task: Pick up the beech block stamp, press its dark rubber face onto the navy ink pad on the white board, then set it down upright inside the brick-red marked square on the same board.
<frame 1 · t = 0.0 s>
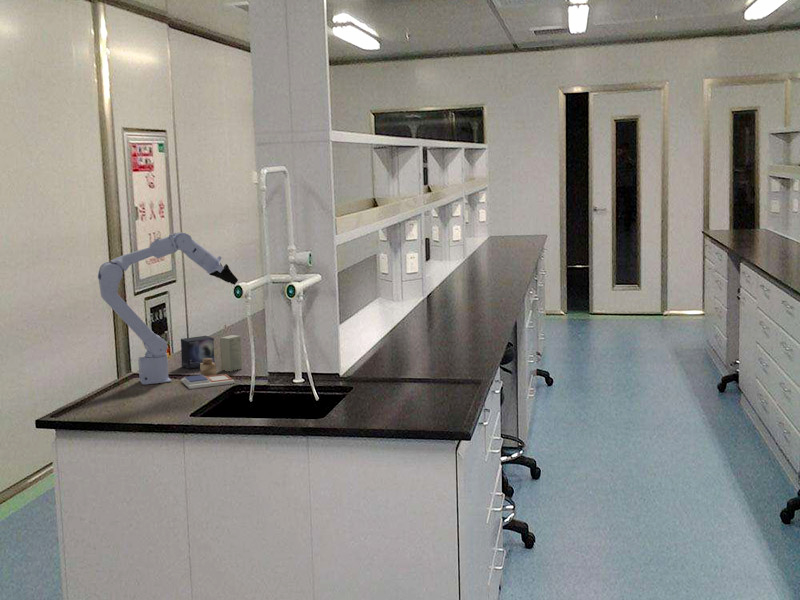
hand: (233, 281, 299), 32 cm above the countertop, tool tilted 50°, fingers open, 7 cm apart
stamp: (208, 376, 297), on the countertop
small box: (198, 366, 315), on the countertop
board: (207, 382, 287), on the countertop
skincare box: (231, 370, 307), on the countertop
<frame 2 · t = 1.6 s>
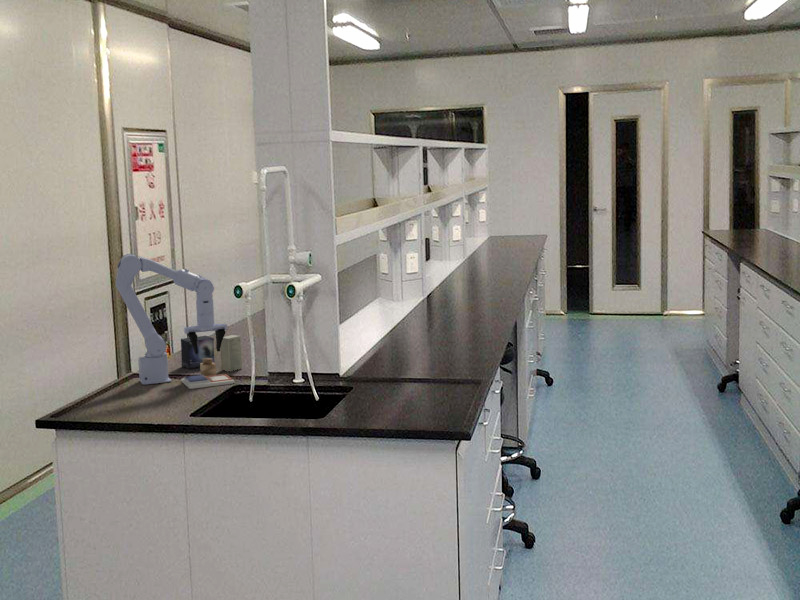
hand: (207, 352, 296), 8 cm above the countertop, tool pointing down, fingers open, 7 cm apart
nothing on the countertop moved.
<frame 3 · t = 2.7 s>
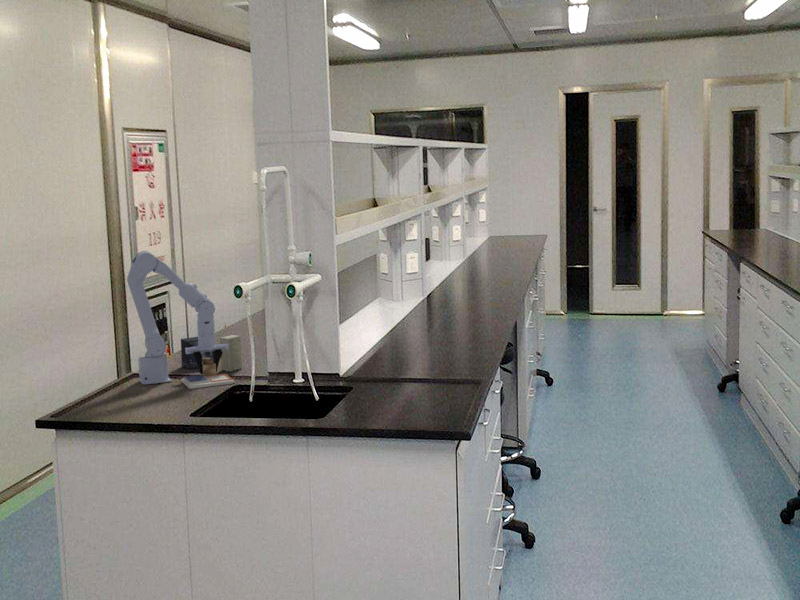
hand: (208, 372, 297), 1 cm above the countertop, tool pointing down, fingers closed on stamp, 4 cm apart
stamp: (208, 376, 297), on the countertop, touching gripper
everything else where it was.
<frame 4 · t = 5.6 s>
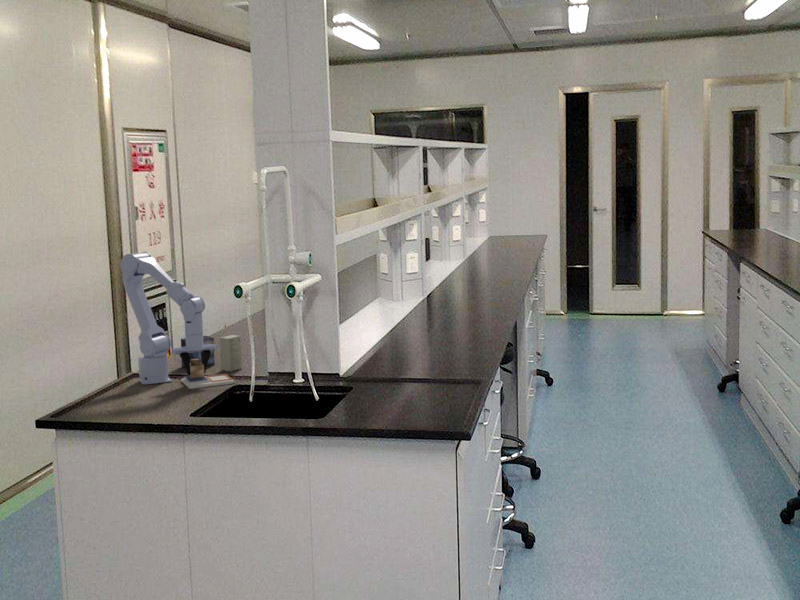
hand: (196, 373, 285), 3 cm above the countertop, tool pointing down, fingers closed on stamp, 4 cm apart
stamp: (196, 377, 286), point 2 cm above the countertop, touching board, gripper
everything else where it was.
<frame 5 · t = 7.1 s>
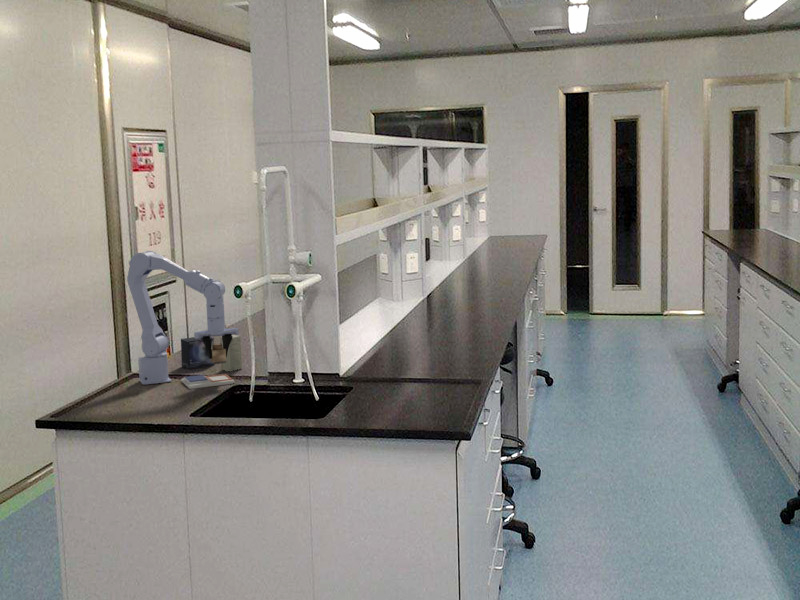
hand: (217, 357, 288), 8 cm above the countertop, tool pointing down, fingers closed on stamp, 4 cm apart
stamp: (218, 362, 288), point 6 cm above the countertop, touching gripper
everything else where it was.
when the fingers open (3 cm above the countertop, at t = 8.3 s): stamp stays where it is, resting on board.
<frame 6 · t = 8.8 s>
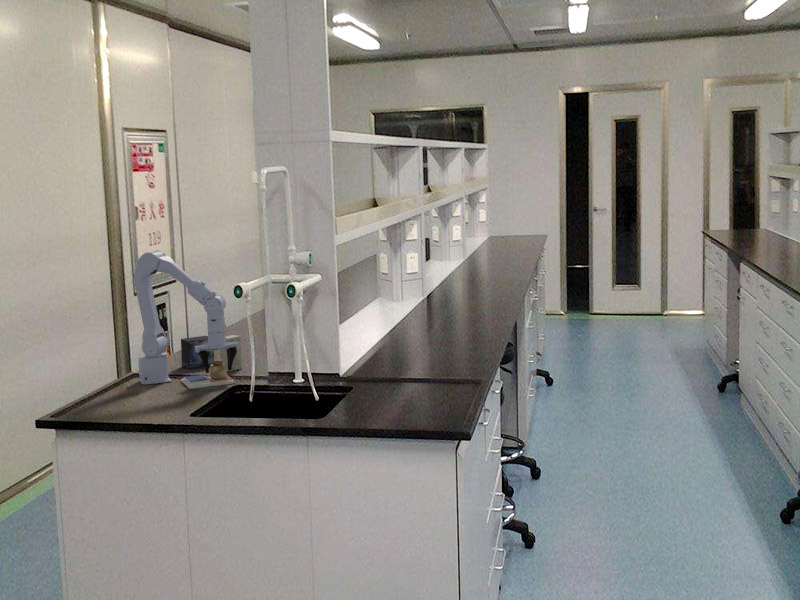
hand: (218, 371, 288), 3 cm above the countertop, tool pointing down, fingers open, 7 cm apart
stamp: (218, 378, 289), point 1 cm above the countertop, touching board
everything else where it was.
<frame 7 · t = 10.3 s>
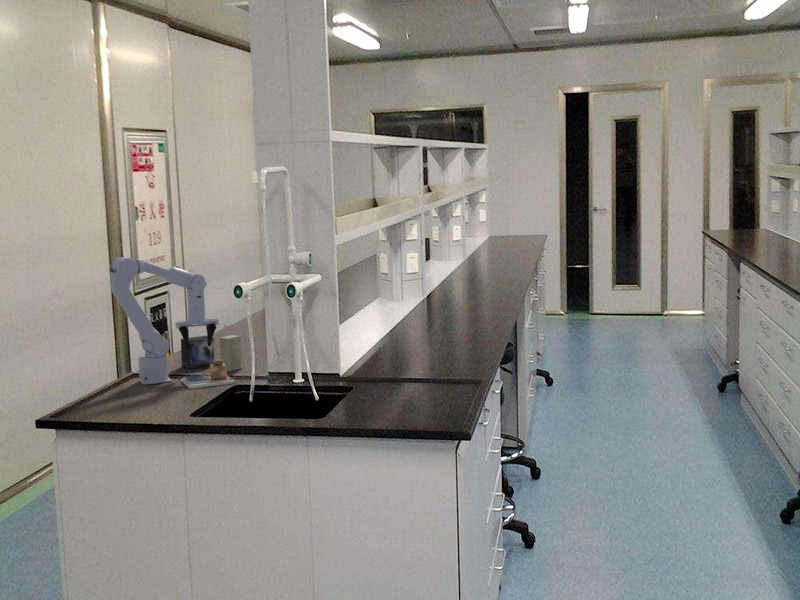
hand: (198, 346, 299), 10 cm above the countertop, tool pointing down, fingers open, 7 cm apart
nothing on the countertop moved.
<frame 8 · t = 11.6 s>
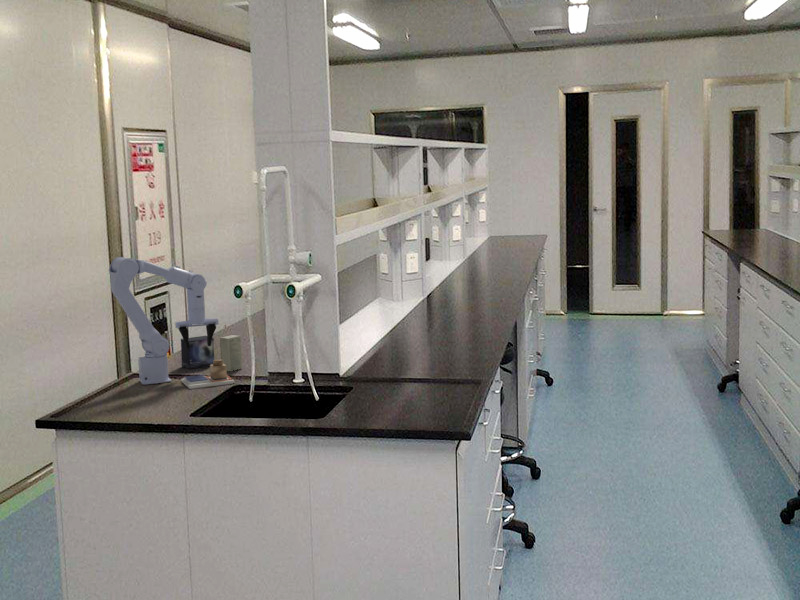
hand: (198, 346, 299), 10 cm above the countertop, tool pointing down, fingers open, 7 cm apart
nothing on the countertop moved.
at the end: stamp inside the target area on the board (0.1 cm from its centre), point 1.0 cm above the board's base; stamp tilted 0°; the gripper is holding nothing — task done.
